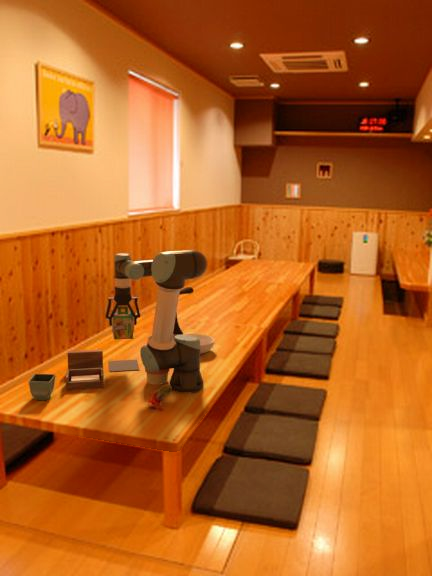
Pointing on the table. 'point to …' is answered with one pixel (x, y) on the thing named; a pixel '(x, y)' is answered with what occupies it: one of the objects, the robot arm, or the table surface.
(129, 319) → the chalk box
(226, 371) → the table surface
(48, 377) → the flower pot
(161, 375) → the reusable coffee cup
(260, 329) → the table surface
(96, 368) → the walnut rack
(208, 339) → the serving bowl
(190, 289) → the flared trumpet-armed statue
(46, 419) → the table surface
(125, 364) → the rubber mat
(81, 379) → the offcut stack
